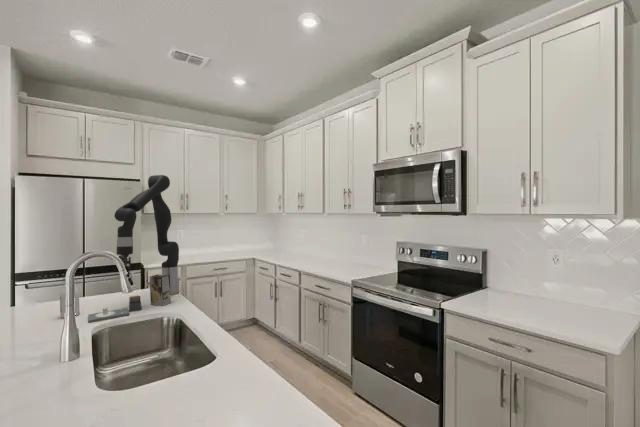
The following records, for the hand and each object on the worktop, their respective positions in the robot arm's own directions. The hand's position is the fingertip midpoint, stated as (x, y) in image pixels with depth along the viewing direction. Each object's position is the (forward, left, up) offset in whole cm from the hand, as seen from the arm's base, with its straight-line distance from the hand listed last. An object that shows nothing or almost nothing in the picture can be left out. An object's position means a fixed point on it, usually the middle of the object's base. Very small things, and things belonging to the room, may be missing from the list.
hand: (124, 275), depth 171 cm
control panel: (+8, +6, -19) cm, 21 cm away
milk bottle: (+24, -8, -19) cm, 31 cm away
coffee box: (-17, -1, -19) cm, 26 cm away
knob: (-4, +2, -19) cm, 19 cm away
